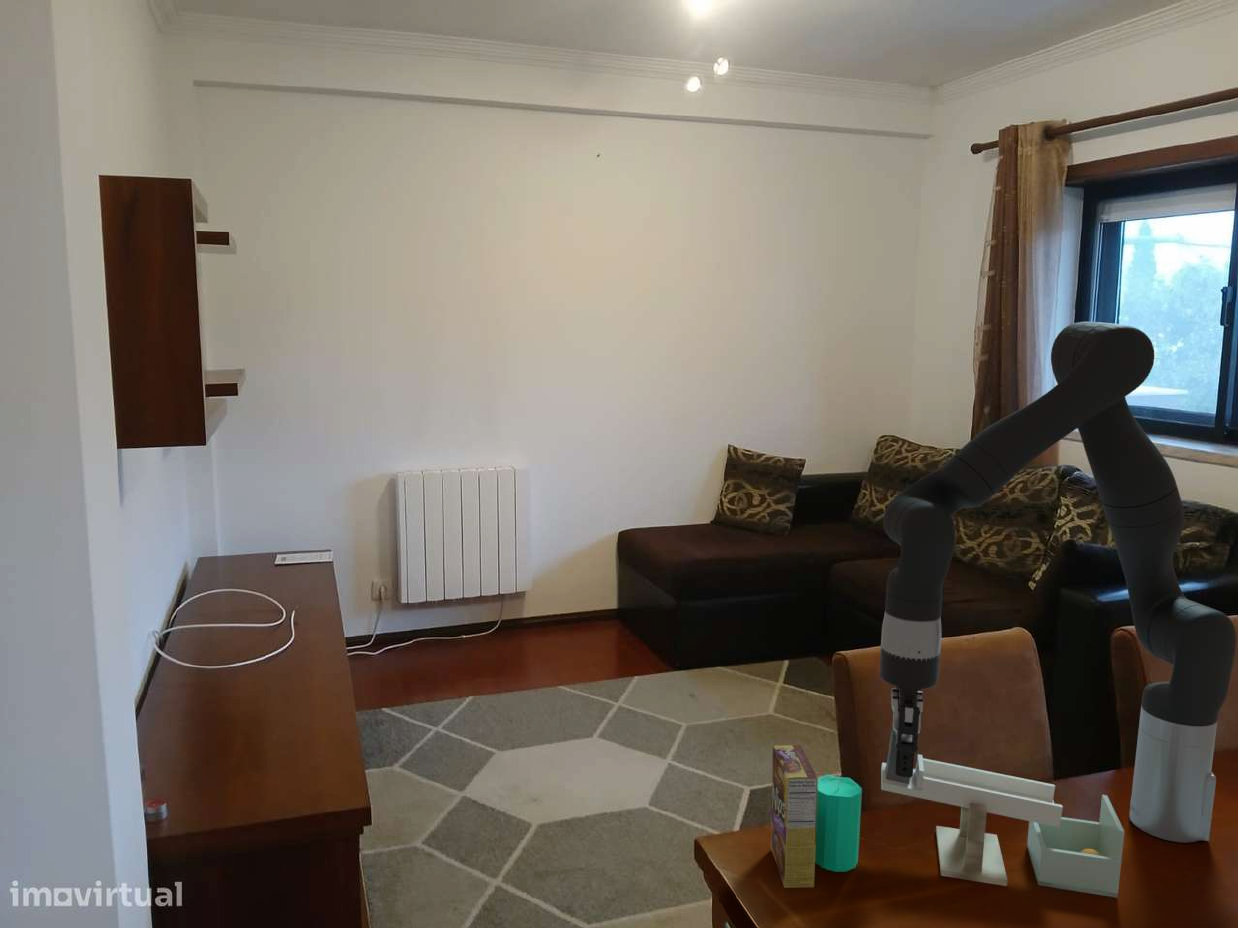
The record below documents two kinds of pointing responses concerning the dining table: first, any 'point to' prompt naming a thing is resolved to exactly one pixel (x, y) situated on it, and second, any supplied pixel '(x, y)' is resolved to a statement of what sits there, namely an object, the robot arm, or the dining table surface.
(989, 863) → the lever stand
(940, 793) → the board
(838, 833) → the candle
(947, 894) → the dining table surface
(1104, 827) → the cup
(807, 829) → the candy box
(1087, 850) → the ball
